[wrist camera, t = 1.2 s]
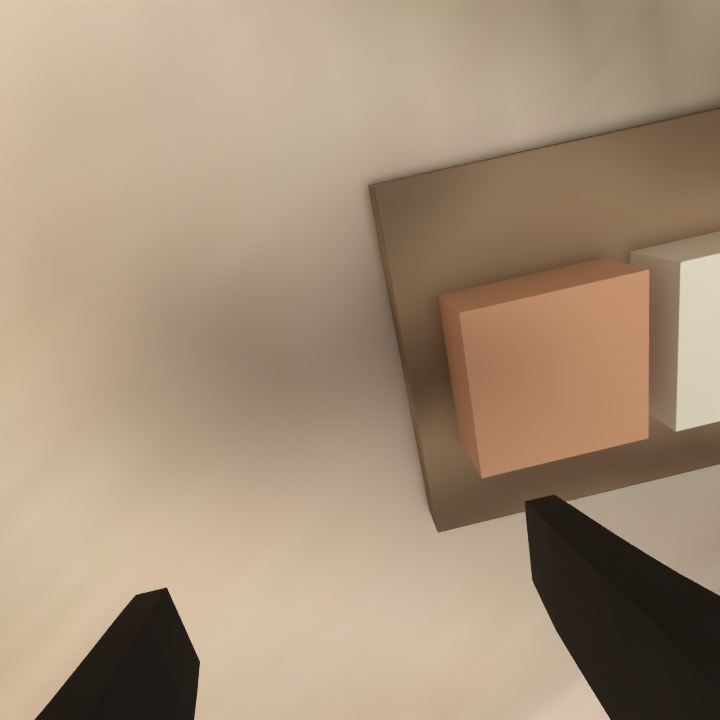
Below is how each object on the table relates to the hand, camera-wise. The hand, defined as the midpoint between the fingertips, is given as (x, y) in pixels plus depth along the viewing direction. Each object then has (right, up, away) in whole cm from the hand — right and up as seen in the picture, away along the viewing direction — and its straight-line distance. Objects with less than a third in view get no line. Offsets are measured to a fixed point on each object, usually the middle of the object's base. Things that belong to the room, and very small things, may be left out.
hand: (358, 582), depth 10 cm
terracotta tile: (+6, +5, +9) cm, 12 cm away
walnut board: (+10, +6, +10) cm, 15 cm away
